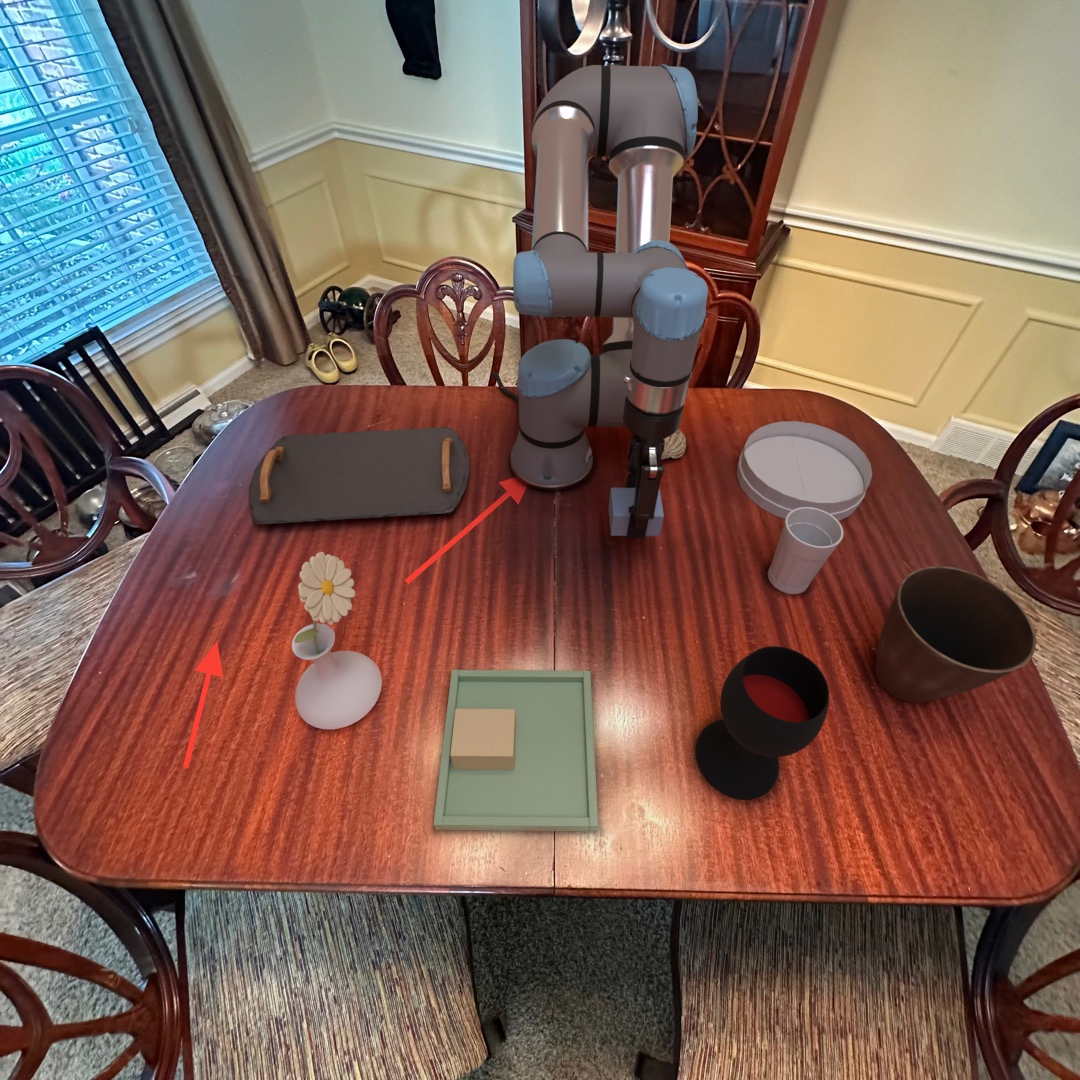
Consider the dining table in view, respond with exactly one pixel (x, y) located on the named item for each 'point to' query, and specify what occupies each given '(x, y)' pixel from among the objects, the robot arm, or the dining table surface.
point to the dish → (803, 469)
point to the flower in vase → (333, 678)
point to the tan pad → (484, 739)
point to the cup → (803, 548)
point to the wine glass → (762, 721)
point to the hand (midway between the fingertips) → (633, 520)
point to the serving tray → (359, 476)
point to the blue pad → (620, 514)
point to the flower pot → (950, 635)
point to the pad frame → (524, 755)
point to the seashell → (674, 445)
